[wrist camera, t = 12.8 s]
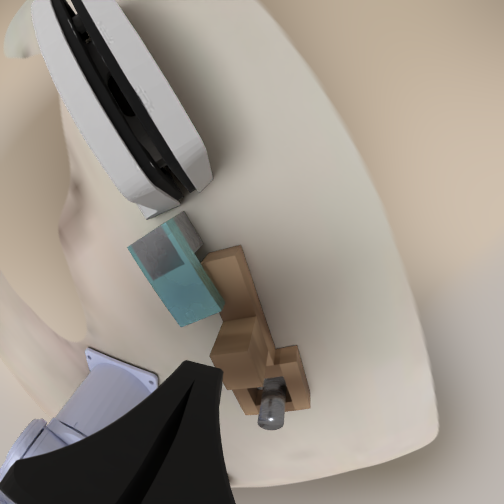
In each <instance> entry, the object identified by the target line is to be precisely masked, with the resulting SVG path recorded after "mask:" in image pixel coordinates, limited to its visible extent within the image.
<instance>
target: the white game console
mask: <svg viewBox="0 0 504 504" xmlns="http://www.w3.org/2000/svg"><path fill="white" fill-rule="evenodd" d="M71 2H72V3H73V5H74V7H75V9H76V11H77V13H78V14H77V15H76V14H75V13H74V11H73V10H72V9H71V7H70V6H69V4H68V3H67V1H66V0H34V1H33V2H32V4H31V13H32V21H33V25H34V30H35V34H36V38H37V41H38V44H39V47H40V50H41V53H42V56H43V58H44V60H45V63H46V65H47V68H48V70H49V72H50V75H51V77H52V79H53V82H54V84H55V86H56V88H57V90H58V92H59V94H60V96H61V98H62V100H63V102H64V104H65V105H66V107H67V109H68V111H69V113H70V115H71V117H72V118H73V120H74V122H75V124H76V126H77V127H78V129H79V131H80V133H81V134H82V136H83V137H84V139H85V141H86V142H87V144H88V145H89V147H90V149H91V150H92V152H93V153H94V155H95V156H96V158H97V159H98V161H99V162H100V164H101V165H102V167H103V168H104V170H105V171H106V173H107V174H108V176H109V177H110V179H111V180H112V182H113V183H114V184H115V186H116V187H117V189H118V190H119V191H120V193H121V194H122V195H123V196H124V197H125V198H126V199H127V200H128V201H131V202H134V203H136V204H137V205H138V207H139V209H140V210H141V212H142V214H143V215H144V217H145V218H146V220H148V219H151V218H153V217H155V216H157V215H159V214H161V213H163V212H165V211H168V210H170V209H172V208H175V207H177V206H180V203H179V201H178V200H179V199H181V198H182V197H183V195H182V193H181V192H180V190H179V188H178V187H177V185H176V184H175V182H174V181H173V179H172V177H171V176H170V174H169V173H168V172H167V171H166V170H165V169H164V168H163V167H165V166H167V165H168V167H169V168H170V170H171V171H172V172H173V173H174V175H175V176H176V177H177V178H178V179H179V180H180V181H181V183H182V184H183V185H184V186H185V187H186V188H187V189H188V191H189V192H192V191H193V190H195V189H197V191H198V192H199V193H200V192H201V191H202V190H203V189H204V188H205V187H206V186H207V185H208V184H209V183H210V182H211V181H212V180H213V176H212V171H211V167H210V163H209V158H208V154H207V150H206V147H205V145H204V143H203V141H202V139H201V137H200V136H199V134H198V132H197V131H196V129H195V127H194V125H193V124H192V122H191V120H190V118H189V117H188V115H187V113H186V112H185V110H184V108H183V106H182V105H181V103H180V101H179V100H178V98H177V96H176V95H175V93H174V91H173V90H172V88H171V86H170V85H169V83H168V81H167V80H166V78H165V76H164V75H163V73H162V72H161V70H160V68H159V67H158V65H157V64H156V62H155V60H154V59H153V57H152V56H151V54H150V52H149V51H148V49H147V48H146V46H145V44H144V43H143V41H142V40H141V38H140V36H139V35H138V33H137V32H136V30H135V29H134V27H133V26H132V24H131V23H130V21H129V20H128V18H127V17H126V15H125V14H124V12H123V11H122V10H121V8H120V7H119V5H118V4H117V2H116V1H115V0H71ZM87 32H88V33H87ZM88 34H89V35H88ZM89 36H90V38H91V39H92V40H91V41H90V42H89V43H88V44H87V43H86V41H85V40H86V39H87V38H89ZM111 75H112V76H113V78H114V80H115V81H116V83H117V85H118V86H119V88H120V90H121V91H122V93H123V95H124V96H125V98H126V100H127V101H128V103H129V105H130V106H131V108H132V110H133V111H134V113H135V114H136V115H135V116H133V117H128V116H126V115H124V114H123V112H122V110H121V109H120V107H119V105H118V103H117V102H116V100H115V98H114V97H113V95H112V93H111V91H110V89H109V87H108V80H109V78H110V76H111Z"/></svg>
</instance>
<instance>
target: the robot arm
mask: <svg viewBox="0 0 504 504" xmlns="http://www.w3.org/2000/svg"><path fill="white" fill-rule="evenodd" d="M85 354H86V358H87V362H88V366H89V370H90V373H89V374H88V376H87V377H86V378H85V379H84V381H83V382H82V383H81V384H80V386H79V387H78V388H77V390H76V391H75V392H74V393H73V395H72V396H71V397H70V399H69V400H68V401H67V402H66V404H65V405H64V406H63V408H62V409H61V410H60V412H59V413H58V414H57V416H56V417H55V418H54V417H53V418H52V420H51V421H50V422H49V424H48V425H47V426H46V424H47V422H46V421H45V420H44V419H34V420H32V421H31V423H30V424H29V425H28V426H27V427H26V428H25V429H24V431H23V432H22V433H21V435H20V436H19V437H18V439H17V440H16V441H15V443H14V444H13V446H12V448H11V449H10V451H9V452H8V454H7V457H6V460H5V462H4V464H3V465H2V467H1V468H0V474H1V475H0V504H236V503H235V500H234V497H233V494H232V491H231V487H230V483H229V479H228V475H227V471H226V466H225V462H224V456H223V450H222V443H221V435H220V424H219V404H220V397H221V389H222V381H223V373H224V372H223V371H222V369H220V368H216V367H212V366H207V365H203V364H199V363H195V362H192V361H188V360H186V361H183V362H182V364H181V365H180V366H179V367H178V368H177V369H176V370H175V371H174V372H173V373H172V374H171V375H170V376H169V377H168V378H167V379H166V380H165V381H164V382H163V383H162V384H161V385H160V386H159V387H158V378H157V376H156V375H155V374H153V373H150V372H147V371H145V370H142V369H139V368H137V367H134V366H131V365H129V364H126V363H124V362H121V361H119V360H116V359H114V358H111V357H109V356H106V355H104V354H102V353H99V352H97V351H95V350H93V349H90V348H87V349H86V350H85Z"/></svg>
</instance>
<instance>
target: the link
mask: <svg viewBox="0 0 504 504" xmlns="http://www.w3.org/2000/svg"><path fill="white" fill-rule="evenodd" d="M201 265H202V266H203V268H204V270H205V271H206V273H207V274H208V276H209V277H210V279H211V281H212V282H213V284H214V285H215V287H216V288H217V290H218V291H219V293H220V294H221V296H222V297H223V299H224V301H225V305H224V307H223V309H222V311H221V312H219V313H220V315H221V318H222V320H223V324H222V326H221V329H220V331H219V333H218V336H217V338H216V341H215V343H214V346H213V348H212V351H211V353H210V358H211V360H212V362H213V364H214V366H215V367H216V368H220V369H222V371H223V372H224V373H223V383H224V385H225V387H226V389H227V390H232V391H233V393H234V395H235V396H236V398H237V400H238V402H239V404H240V406H241V408H242V410H243V412H244V413H245V415H257V414H259V411H260V405H261V399H262V392H263V390H258V389H257V387H263V382H264V379H266V378H274V377H281V376H284V379H285V382H286V385H287V387H286V400H285V412H287V411H295V410H302V409H309V408H310V390H309V387H308V383H307V379H306V376H305V372H304V369H303V365H302V362H301V358H300V354H299V351H298V347H297V345H296V346H291V347H285V348H279V349H275V346H274V343H273V340H272V337H271V334H270V331H269V328H268V325H267V322H266V319H265V316H264V313H263V310H262V307H261V304H260V301H259V298H258V295H257V292H256V289H255V286H254V283H253V280H252V277H251V274H250V271H249V268H248V265H247V262H246V259H245V256H244V253H243V250H242V247H241V245H238V246H234V247H231V248H227V249H223V250H219V251H215V252H211V253H208V254H207V256H206V257H205V258H204V260H203V261H202V262H201Z"/></svg>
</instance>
